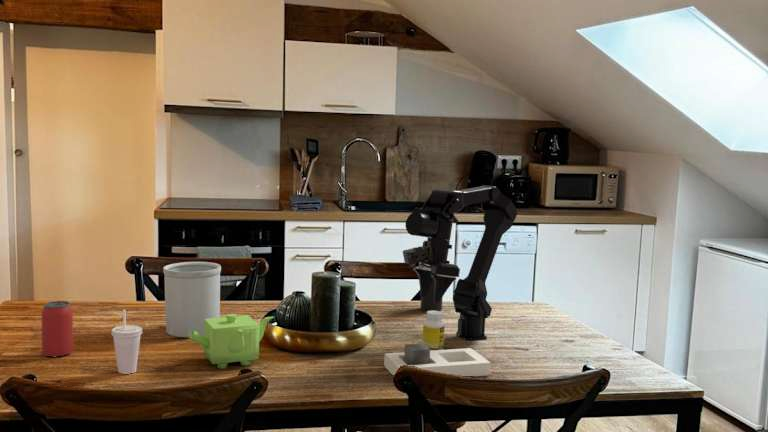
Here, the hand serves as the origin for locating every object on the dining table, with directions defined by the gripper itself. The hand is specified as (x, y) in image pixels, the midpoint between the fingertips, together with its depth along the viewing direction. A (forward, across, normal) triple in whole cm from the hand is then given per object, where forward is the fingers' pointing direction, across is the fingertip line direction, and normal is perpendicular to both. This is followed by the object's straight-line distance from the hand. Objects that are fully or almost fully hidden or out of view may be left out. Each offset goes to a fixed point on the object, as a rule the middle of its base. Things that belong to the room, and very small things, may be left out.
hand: (429, 299), depth 175 cm
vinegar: (+8, -40, +17) cm, 44 cm away
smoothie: (+24, +2, -69) cm, 73 cm away
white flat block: (+14, +14, -2) cm, 20 cm away
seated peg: (+15, +14, -6) cm, 22 cm away
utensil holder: (+19, -28, -55) cm, 64 cm away
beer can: (+25, -14, -85) cm, 90 cm away
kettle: (+20, 0, -46) cm, 50 cm away
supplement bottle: (+13, -1, +3) cm, 13 cm away
